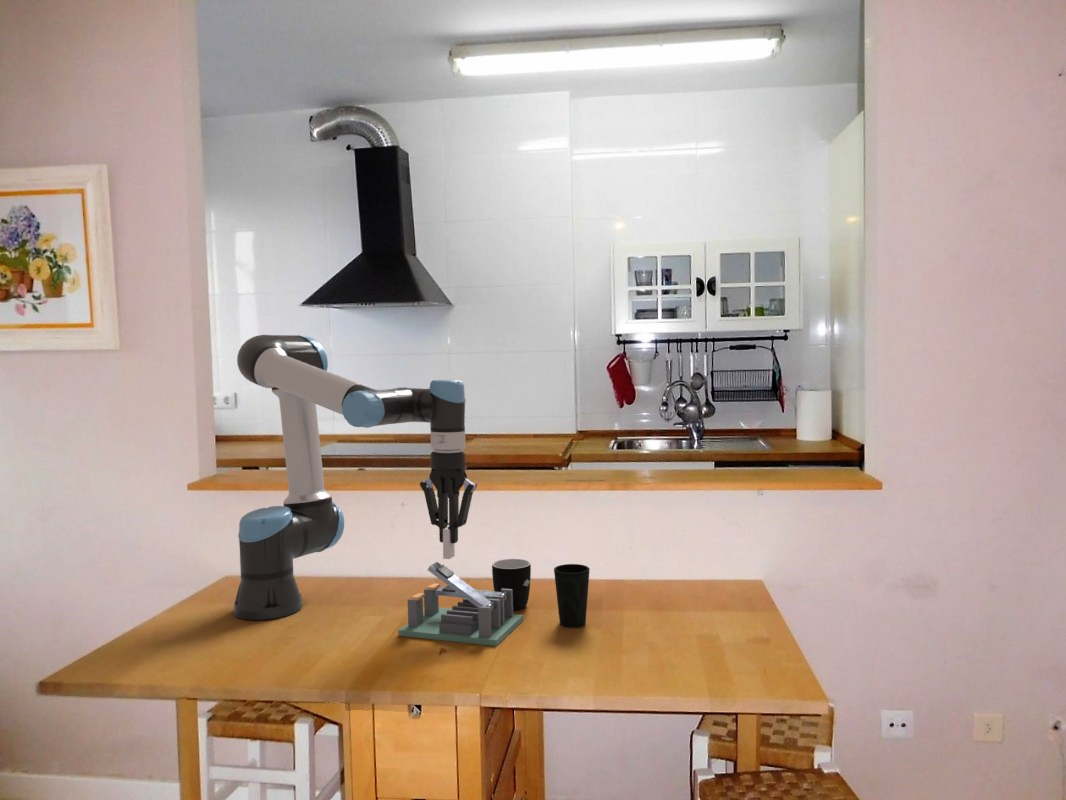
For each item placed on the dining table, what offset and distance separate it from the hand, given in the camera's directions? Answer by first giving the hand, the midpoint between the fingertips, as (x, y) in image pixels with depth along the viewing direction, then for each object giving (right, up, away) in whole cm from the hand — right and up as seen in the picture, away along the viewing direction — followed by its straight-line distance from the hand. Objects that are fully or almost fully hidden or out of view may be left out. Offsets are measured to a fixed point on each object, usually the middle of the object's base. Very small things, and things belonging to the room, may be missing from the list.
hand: (448, 557), depth 168 cm
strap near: (+3, -5, -9) cm, 11 cm away
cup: (+27, -14, -3) cm, 31 cm away
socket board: (+3, -14, -4) cm, 15 cm away
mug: (+14, -14, +11) cm, 22 cm away
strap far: (+5, -8, -1) cm, 10 cm away
